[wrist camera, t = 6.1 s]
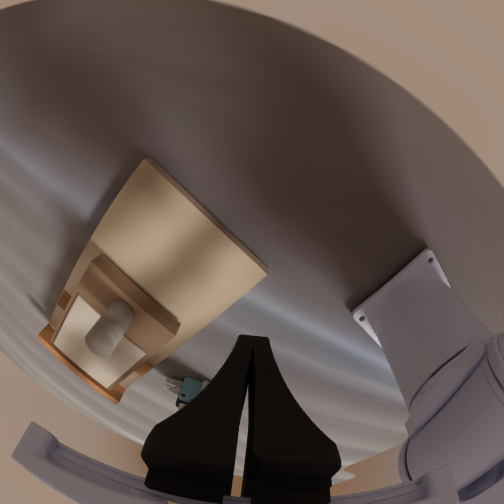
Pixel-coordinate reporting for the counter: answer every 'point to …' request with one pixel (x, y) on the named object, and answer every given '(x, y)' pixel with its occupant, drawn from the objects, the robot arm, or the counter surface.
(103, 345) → the carriage
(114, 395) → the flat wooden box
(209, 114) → the counter surface
